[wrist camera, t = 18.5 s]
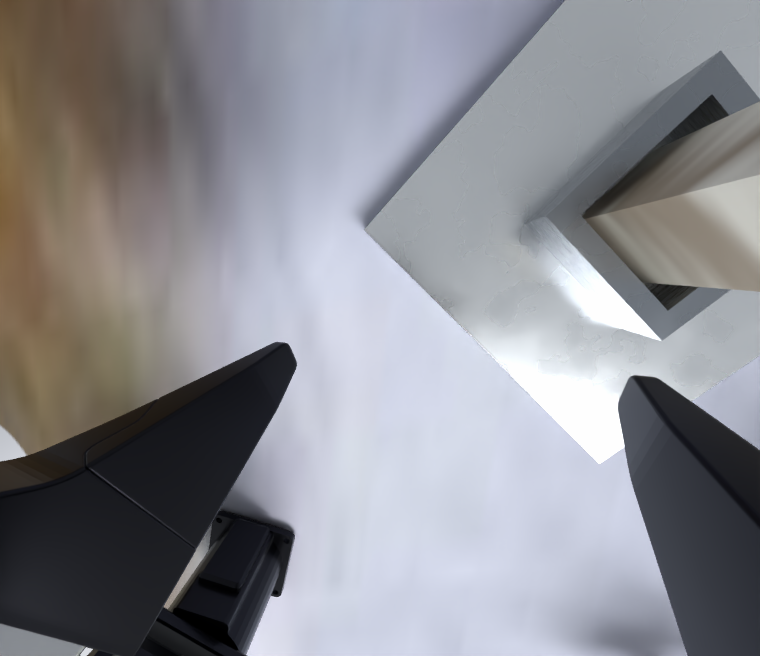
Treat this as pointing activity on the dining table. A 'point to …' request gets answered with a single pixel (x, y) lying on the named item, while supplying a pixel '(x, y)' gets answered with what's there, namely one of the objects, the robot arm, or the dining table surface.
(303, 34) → the dining table surface
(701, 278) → the birch peg
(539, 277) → the socket plate
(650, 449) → the robot arm
